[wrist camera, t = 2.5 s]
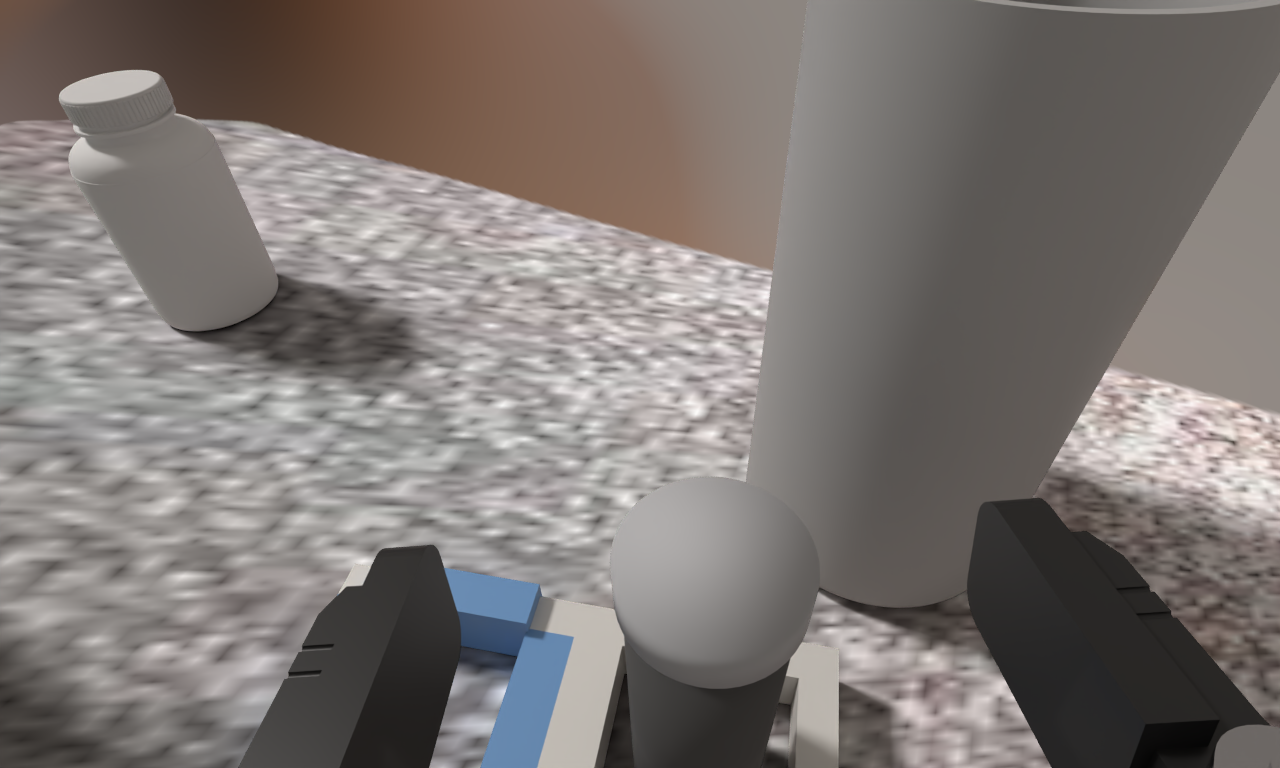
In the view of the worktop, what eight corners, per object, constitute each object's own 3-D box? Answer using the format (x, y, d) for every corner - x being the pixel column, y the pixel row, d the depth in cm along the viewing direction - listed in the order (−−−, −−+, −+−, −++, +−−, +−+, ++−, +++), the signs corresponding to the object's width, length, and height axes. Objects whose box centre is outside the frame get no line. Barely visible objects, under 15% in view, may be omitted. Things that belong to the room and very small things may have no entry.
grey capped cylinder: (679, 881, 25) (692, 704, 15) (605, 755, 28) (571, 535, 18) (787, 793, 27) (865, 582, 17) (706, 684, 30) (730, 449, 20)
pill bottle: (249, 255, 55) (153, 50, 44) (302, 296, 51) (210, 81, 40) (142, 303, 51) (8, 89, 40) (190, 351, 46) (55, 128, 36)
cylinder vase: (1051, 526, 35) (1422, -52, 18) (877, 669, 30) (1161, 58, 13) (860, 385, 43) (994, -118, 26) (696, 481, 38) (724, -64, 21)
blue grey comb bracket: (826, 911, 24) (842, 889, 22) (271, 782, 28) (238, 751, 25) (828, 672, 30) (841, 636, 28) (372, 590, 34) (352, 552, 31)
